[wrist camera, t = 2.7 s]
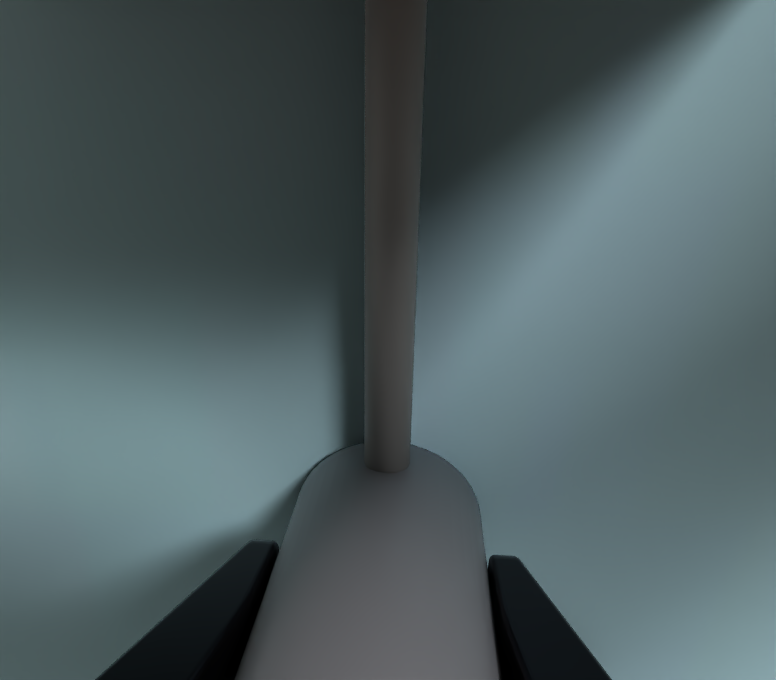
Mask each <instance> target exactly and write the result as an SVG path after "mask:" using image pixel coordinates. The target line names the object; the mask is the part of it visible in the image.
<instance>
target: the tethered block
mask: <svg viewBox="0 0 776 680" xmlns="http://www.w3.org/2000/svg"><path fill="white" fill-rule="evenodd" d="M426 23H427V0H365V349H364V443H361V444H357V445H353V446H350V447H347V448H345V449H342V450H340V451H338V452H336V453H334V454H332V455H330V456H329V457H327V458H326V459H325V460H323V461H322V462H321V463H320V464H318V465H317V466H316V467H315V468H314V469H313V470H312V472H311V473H310V474H309V476H308V477H307V478H306V480H305V482H304V484H303V486H302V488H301V491H300V493H299V496H298V499H297V502H296V505H295V508H294V510H293V513H292V516H291V519H290V522H289V525H288V528H287V530H286V533H285V536H284V539H283V542H282V545H281V548H280V550H279V553H278V556H277V559H276V562H275V565H274V568H273V571H272V573H271V576H270V579H269V582H268V585H267V588H266V591H265V593H264V596H263V599H262V602H261V605H260V608H259V611H258V614H257V616H256V619H255V622H254V625H253V628H252V631H251V634H250V636H249V639H248V642H247V645H246V648H245V651H244V654H243V657H242V659H241V662H240V665H239V668H238V671H237V674H236V677H235V679H234V680H502V673H501V666H500V658H499V651H498V643H497V636H496V628H495V621H494V613H493V606H492V598H491V591H490V583H489V576H488V568H487V561H486V553H485V546H484V538H483V531H482V523H481V516H480V509H479V504H478V501H477V498H476V495H475V493H474V491H473V489H472V487H471V486H470V484H469V483H468V481H467V480H466V479H465V477H464V476H463V475H462V474H461V473H460V472H459V471H458V470H457V469H456V468H455V467H454V466H453V465H451V464H450V463H449V462H448V461H446V460H445V459H443V458H441V457H440V456H438V455H436V454H434V453H432V452H430V451H428V450H426V449H423V448H420V447H417V446H414V445H410V442H411V416H412V389H413V363H414V337H415V311H416V285H417V258H418V232H419V206H420V180H421V154H422V127H423V101H424V75H425V49H426Z"/></svg>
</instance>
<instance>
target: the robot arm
mask: <svg viewBox="0 0 776 680" xmlns="http://www.w3.org/2000/svg"><path fill="white" fill-rule="evenodd" d="M278 553H279V546H278V544H277V543H276V542H275V541H270V540H251V541H249V542H248V543H247V544H246V545H245V546H243V547H242V548H241V549H240V550H239V551H238V552H237V553H236V554H235V555H233V556H232V557H231V558H230V559H229V560H228V561H227V562H226V563H224V564H223V565H222V566H221V567H220V568H219V569H218V570H217V571H216V572H214V573H213V574H212V575H211V576H210V577H209V578H208V579H207V580H206V581H204V582H203V583H202V584H201V585H200V586H199V587H198V588H197V589H196V590H194V591H193V592H192V593H191V594H190V595H189V596H188V597H187V598H185V599H184V600H183V601H182V602H181V603H180V604H179V605H178V606H177V607H175V608H174V609H173V610H172V611H171V612H170V613H169V614H168V615H167V616H165V617H164V618H163V619H162V620H161V621H160V622H159V623H158V624H156V625H155V626H154V627H153V628H152V629H151V630H150V631H149V632H148V633H146V634H145V635H144V636H143V637H142V638H141V639H140V640H139V641H138V642H136V643H135V644H134V645H133V646H132V647H131V648H130V649H129V650H128V651H126V652H125V653H124V654H123V655H122V656H121V657H120V658H119V659H117V660H116V661H115V662H114V663H113V664H112V665H111V666H110V667H109V668H107V669H106V670H105V671H104V672H103V673H102V674H101V675H100V676H99V677H97V678H96V679H95V680H234V679H235V677H236V674H237V671H238V668H239V665H240V662H241V659H242V657H243V654H244V651H245V648H246V645H247V642H248V639H249V636H250V634H251V631H252V628H253V625H254V622H255V619H256V616H257V614H258V611H259V608H260V605H261V602H262V599H263V596H264V593H265V591H266V588H267V585H268V582H269V579H270V576H271V573H272V571H273V568H274V565H275V562H276V559H277V556H278ZM488 576H489V583H490V591H491V598H492V606H493V613H494V621H495V628H496V636H497V643H498V651H499V658H500V666H501V673H502V680H612V679H611V678H610V677H609V675H608V674H607V673H606V671H605V670H604V669H603V668H602V666H601V665H600V664H599V662H598V661H597V660H596V658H595V657H594V656H593V654H592V653H591V652H590V651H589V649H588V648H587V647H586V645H585V644H584V643H583V641H582V640H581V639H580V638H579V636H578V635H577V634H576V632H575V631H574V630H573V628H572V627H571V626H570V624H569V623H568V622H567V621H566V619H565V618H564V617H563V615H562V614H561V613H560V611H559V610H558V609H557V608H556V606H555V605H554V604H553V602H552V601H551V600H550V598H549V597H548V596H547V594H546V593H545V592H544V591H543V589H542V588H541V587H540V585H539V584H538V583H537V581H536V580H535V579H534V578H533V576H532V575H531V574H530V572H529V571H528V570H527V568H526V567H525V566H524V564H523V563H522V562H521V561H520V559H519V558H517V557H515V556H506V555H492V556H491V557H490V559H489V563H488Z"/></svg>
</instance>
